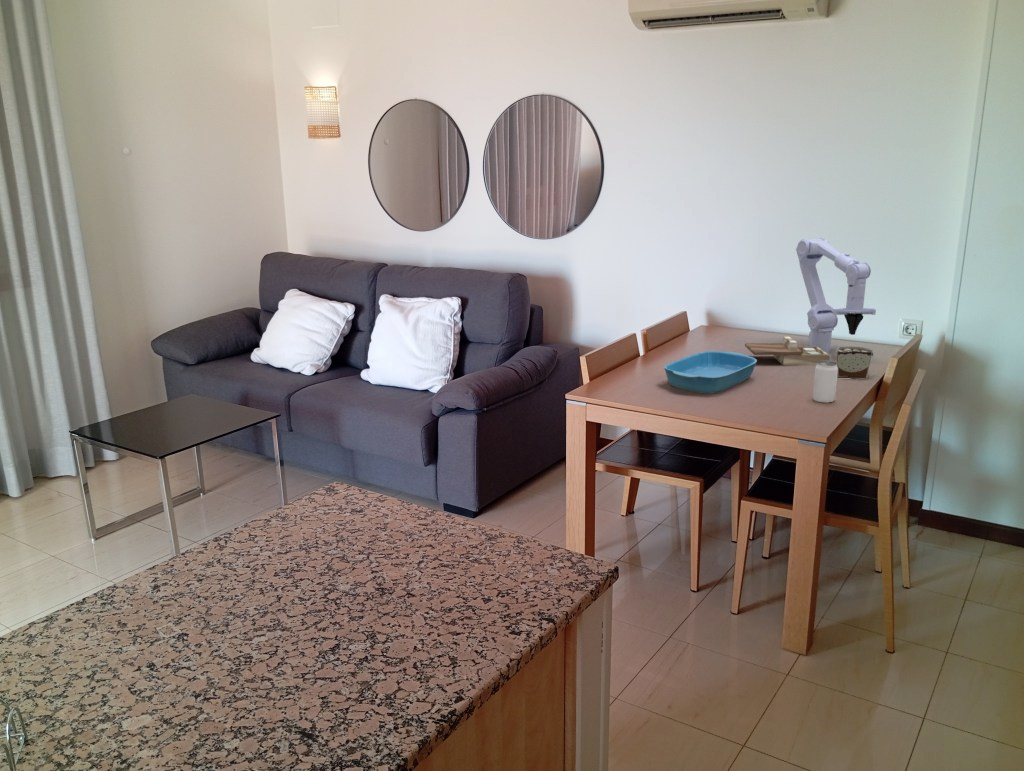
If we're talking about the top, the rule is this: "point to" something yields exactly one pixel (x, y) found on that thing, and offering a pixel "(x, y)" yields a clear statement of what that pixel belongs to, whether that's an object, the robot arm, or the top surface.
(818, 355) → the beige open tray
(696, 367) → the casserole dish
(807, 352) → the sage cube
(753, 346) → the lid
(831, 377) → the can
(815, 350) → the cream cube
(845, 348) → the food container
